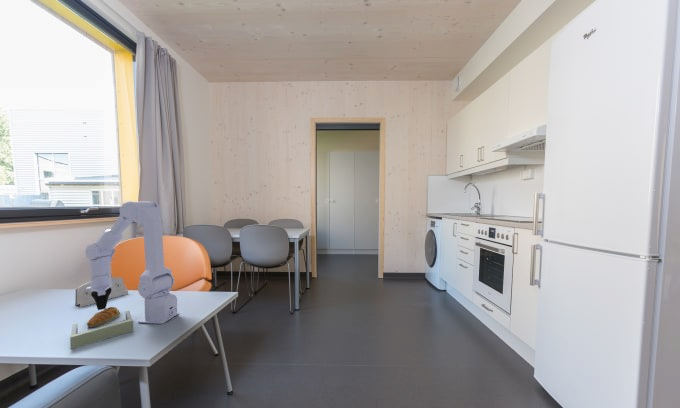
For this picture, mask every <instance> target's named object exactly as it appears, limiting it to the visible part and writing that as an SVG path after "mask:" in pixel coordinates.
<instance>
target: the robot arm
mask: <svg viewBox="0 0 680 408" xmlns="http://www.w3.org/2000/svg"><path fill="white" fill-rule="evenodd" d="M160 207H161V206H160V205H159V204H157V203H156V202H155V201H152V200H148V201H130V200H128V201H124V202H123V204H122V205H121V207H119V209H118V210H119V211H118V212H119V215H118V217H117V219H116V221H114V223H113V225H112V227H111V228H110V229H108V228H107V229H105V230H104V231H103V233H102V234H101V235H100V237H99V238H98V239H97V240H96V242H93V243H92V244H88V245H87V246H86V248H85V252H84V253H85V256H86V258H87V259H88V260H89V265H90V266H89V267H90V268H89V271H90V282H91V287H87V288H86V290H93V292H91V296H92V297H93V298H94V300H95V302H96V303H95V305H96V308H97V310H98V311H100V310H101V311H102V310H104V309H106V308H107V305H108V297H109V295H110V293H111V288H110V287H111V286H112V283H111V277H112V261H113V257H114V255H115V253H116V250H115V247H116V246H117V245H118V244H119V242H120V241H121V240H122V239H123V232H124V231H125V230H126V229H127V228H128V227H129V226H130V225H131V224H132V223H133V222H134V223H136V224H139V225H140V226H142V228H143V229H142V230H143V244H144V245H143V246H144V261H145V270H144V271H143V272H142V273H141V275H140V276H139V281H138V282H139V283H138V285H137V292H138V294H139V295H140V296H141V297H142V298H144V318H142V319H140V320H139V321H138V324H139V323H140V324H159V325H160V324H161V325H162V324H165V323H166V322H168V321H169V320H171V319H172V318H174V317H175V316H177V315H179V314H180V312H179V311H178V298H177V296H176V295H175V294H173V293H170V292H171V291H172V290H171V289H172V288H173V287H174V285H175V278H174V276H173V273H172V269H171V268H169V267H167V266H165V258H164V257H165V256H164V241H163V240H164V239H163V238H164V237H163V224H162V217H161V208H160Z"/></svg>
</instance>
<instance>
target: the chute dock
mask: <svg viewBox="0 0 680 408" xmlns="http://www.w3.org/2000/svg"><path fill="white" fill-rule="evenodd" d="M78 328H79V327H78V323H74V324H72V329H71V335H70V341H69V343H70V350H73V349H76V348H80V347H83V346H87V345H90V344H93V343H96V342H100V341H104V340H107V339H110V338H113V337H117V336H120V335H123V334H126V333H129V332H133V331H134V320H133V317H132V314H131V312H130V310H126V311H125V320H123V321H120V322H115V323H112V324H108V325H105V326H99V327H97V328H93V329H90V330H87V331H82V332H79V331H78ZM86 344H87V345H86Z"/></svg>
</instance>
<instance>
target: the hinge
mask: <svg viewBox="0 0 680 408" xmlns="http://www.w3.org/2000/svg"><path fill="white" fill-rule="evenodd" d="M111 283H112V286H111V287H110V288H111V293H110V295H109V297H108V299H109V300H112V299H116V298H118V297H119V298H120V297H122V295H123V296H125V295H128V294H129V290H128V289H127V287H126V284H125V282H124V279H123V277H121V276H120V277H118V276H114V277H113V276H111ZM87 287H91V281H88V282H86V283H83V284H82V285H80V286H77V287H76V289H75V293H74V294H75V299H74V302H75V304H74V305H75V306H79V308H84V307H87V306H86V305H88V306H90V304H91V305H94V303H95V304H96V302H95V300H94V298H93V297H92V296H91V292H93V290H86V288H87ZM115 297H116V298H115ZM111 298H112V299H111ZM79 304H80V305H79ZM83 306H84V307H83Z"/></svg>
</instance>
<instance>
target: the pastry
mask: <svg viewBox="0 0 680 408" xmlns="http://www.w3.org/2000/svg"><path fill="white" fill-rule="evenodd" d="M120 315H121V311H120V310H119V309H118V308H117V307H114V306H110V307H106V308H105V309H102V310H101V311H98V312H96V313H95V314H93V316H92V317H91V318H90V319H89V320H88V321H87V323H86V325H87V328H93V327H101V326H102V324H103V325H104V323H105V324H107V322H108V323H111V322H112V321H114V320H115V319H117V318H119V317H120ZM113 319H114V320H113ZM111 320H112V321H111ZM100 325H101V326H100Z"/></svg>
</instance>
